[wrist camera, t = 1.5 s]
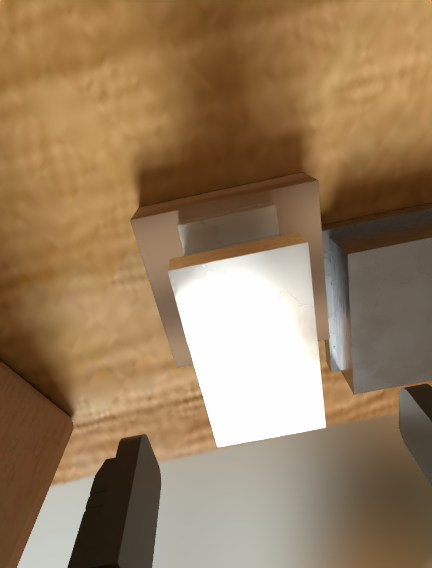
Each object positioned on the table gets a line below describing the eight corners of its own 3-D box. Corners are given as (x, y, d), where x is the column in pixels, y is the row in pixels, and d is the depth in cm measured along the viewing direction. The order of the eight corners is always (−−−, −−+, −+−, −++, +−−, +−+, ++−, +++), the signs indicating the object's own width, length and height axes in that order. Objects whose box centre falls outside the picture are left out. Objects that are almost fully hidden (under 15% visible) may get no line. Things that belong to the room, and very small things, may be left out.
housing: (178, 219, 19) (167, 271, 12) (271, 199, 18) (308, 242, 12) (213, 354, 23) (217, 446, 16) (290, 340, 22) (325, 427, 16)
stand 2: (315, 226, 22) (337, 247, 19) (492, 190, 22) (549, 204, 18) (327, 363, 27) (346, 401, 23) (472, 336, 26) (515, 370, 23)
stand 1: (139, 207, 21) (130, 220, 19) (302, 172, 21) (317, 180, 18) (179, 341, 26) (176, 368, 23) (315, 315, 25) (329, 338, 22)
